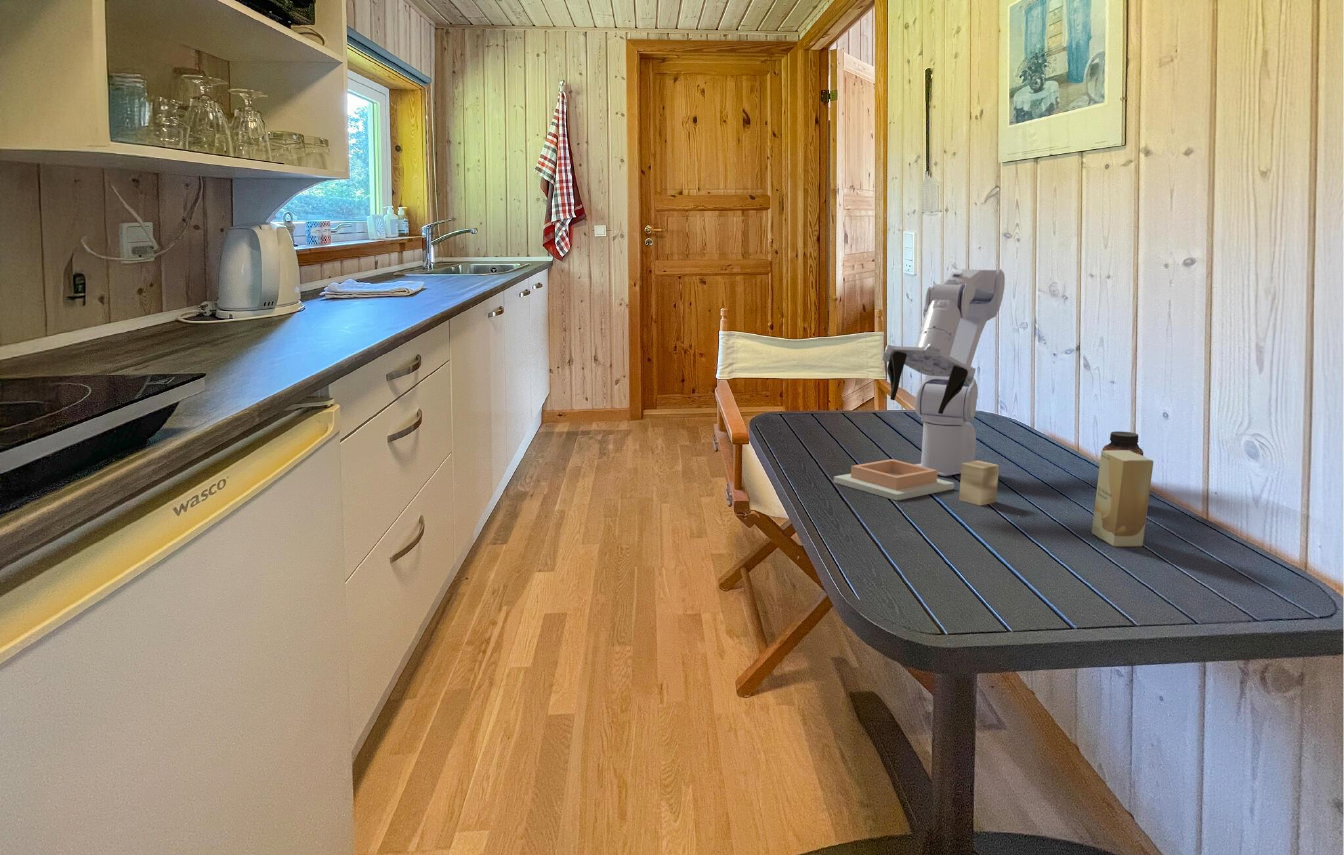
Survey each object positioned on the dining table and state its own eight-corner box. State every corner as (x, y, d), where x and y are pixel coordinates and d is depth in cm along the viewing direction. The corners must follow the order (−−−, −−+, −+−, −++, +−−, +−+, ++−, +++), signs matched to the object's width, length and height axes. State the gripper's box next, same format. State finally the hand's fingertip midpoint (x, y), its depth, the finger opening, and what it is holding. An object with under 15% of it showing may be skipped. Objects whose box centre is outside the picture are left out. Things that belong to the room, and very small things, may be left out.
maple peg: (974, 496, 156) (977, 460, 155) (995, 502, 153) (999, 465, 152) (959, 499, 154) (961, 463, 153) (979, 505, 150) (982, 468, 149)
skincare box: (1090, 533, 136) (1098, 449, 134) (1119, 533, 137) (1128, 449, 135) (1114, 547, 130) (1123, 459, 128) (1145, 547, 131) (1154, 459, 128)
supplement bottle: (1142, 509, 150) (1150, 438, 148) (1101, 506, 151) (1108, 435, 149) (1132, 499, 155) (1139, 430, 153) (1093, 497, 157) (1100, 428, 154)
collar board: (890, 472, 172) (891, 455, 171) (953, 488, 161) (955, 471, 160) (833, 482, 164) (834, 465, 163) (896, 500, 153) (897, 482, 152)
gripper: (896, 312, 157) (876, 375, 150) (985, 336, 154) (969, 401, 147) (889, 340, 163) (869, 401, 156) (975, 363, 160) (958, 427, 153)
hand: (917, 403), depth 152 cm, fingers open, 7 cm apart
